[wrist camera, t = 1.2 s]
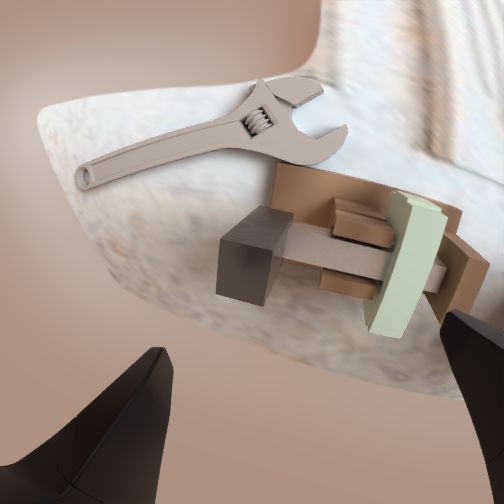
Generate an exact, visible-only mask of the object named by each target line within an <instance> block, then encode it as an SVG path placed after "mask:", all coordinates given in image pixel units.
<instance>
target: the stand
mask: <svg viewBox="0 0 504 504" xmlns="http://www.w3.org/2000/svg"><path fill="white" fill-rule="evenodd" d="M396 190H397V191H401V192H404V193H408V194H411V195H414V196H417V197H421V198H424V199H426V200H428V201H430V202H432V203H433V204H435V205H437V206H438V207H440V208H442V210H441V213H442V214H444V215H445V216H447V217H448V220H447V223H446V227H445V230H444V233H443V236H442V240H441V243H440V246H439V249H438V252H437V255H436V256H438V257H439V258H440V259H441V261H442V262H443V263H444V264H445V265H446V266H447V270H446V273H445V275H444V278H443V280H442V283H441V285H440V288H439V290H438V292H437V293H433V292H428V291H424V290H423V291H422V293H423V294H425V296H426V298H427V299H428V301H429V303H430V305H431V307H432V309H433V311H434V313H435V315H436V317H437V319H438V321H439V323H440V324H441V325H442V322H443V320H444V317H445V314H446V313H447V312H448V311H451V310H455V309H457V310H460V311H462V312H464V313H466V314H468V313H469V311H470V309H471V307H472V305H473V303H474V301H475V299H476V297H477V295H478V292H479V290H480V288H481V285H482V283H483V281H484V278H485V276H486V273H487V271H488V268H489V266H490V263H489V262H488V261H486V260H485V259H484V258H483V257H482V256H481V255H480V254H479V253H477V252H476V251H475V250H474V249H473V248H472V247H471V246H469V245H468V244H467V243H466V242H465V241H463V240H462V239H461V238H460V237H458V236H457V235H456V232H457V229H458V225H459V222H460V218H461V215H462V211H461V210H459V209H458V208H456V207H453V206H450V205H447V204H444V203H442V202H439V201H436V200H433V199H430V198H426V197H423V196H420V195H417V194H414V193H410V192H407V191H404V190H400V189H397V188H393V187H390V186H386V185H383V184H379V183H375V182H371V181H368V180H364V179H360V178H356V177H351V176H347V175H343V174H339V173H334V172H330V171H325V170H320V169H316V168H311V167H306V166H300V165H295V164H290V163H284V162H278V163H277V169H276V176H275V182H274V189H273V195H272V202H271V208H273V209H278V210H283V211H287V212H292V213H294V217H293V221H296V222H301V223H305V224H310V225H314V226H319V227H323V228H328V229H332V230H333V235H337V236H342V237H346V238H350V239H354V240H358V241H362V242H367V243H371V244H375V245H379V246H383V247H387V248H390V247H391V244H392V241H393V237H394V234H395V233H394V231H393V230H392V229H391V227H390V226H389V225H388V223H387V222H386V221H387V220H386V218H385V216H386V212H387V208H388V204H389V200H390V196H391V191H394V192H396ZM283 261H284V262H288V263H293V264H297V265H301V266H306V267H310V268H314V269H319V270H321V271H320V272H321V274H320V283H319V289H324V290H328V291H332V292H337V293H341V294H346V295H350V296H355V297H359V298H364V299H368V300H373V297H374V295H375V292H376V289H377V285H376V282H375V279H372V278H368V277H364V276H360V275H355V274H351V273H347V272H342V271H338V270H334V269H329V268H325V267H321V266H316V265H312V264H308V263H303V262H299V261H295V260H291V259H286V258H284V260H283Z"/></svg>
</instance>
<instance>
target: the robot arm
mask: <svg viewBox="0 0 504 504" xmlns="http://www.w3.org/2000/svg"><path fill="white" fill-rule="evenodd" d="M440 338H441V341H442V344H443V346H444V349H445V352H446V355H447V357H448V360H449V363H450V366H451V369H452V372H453V374H454V377H455V379H456V381H457V384H458V386H459V388H460V391H461V393H462V396H463V398H464V401H465V403H466V406H467V408H468V411H469V414H470V416H471V419H472V422H473V425H474V427H475V430H476V433H477V436H478V439H479V442H480V446H481V449H482V453H483V456H484V460H485V463H486V468H487V472H488V476H489V480H490V485H491V490H492V495H493V500H494V504H504V332H503V331H501V330H499V329H497V328H495V327H493V326H491V325H489V324H487V323H485V322H483V321H481V320H479V319H477V318H474V317H472V316H470V315H468V314H466V313H464V312H462V311H460V310H457V309H455V310H451V311H448V312H447V313H446V314H445V317H444V320H443V322H442V325H441V328H440ZM172 382H173V366H172V363H171V361H170V358H169V356H168V353H167V351H166V349H165V348H164V347H152V348H150V349H149V350H148V351H147V352H146V353H144V354H143V355H142V356H141V357H140V358H139V359H138V360H137V361H136V362H135V363H134V364H132V365H131V366H130V367H129V368H128V369H127V370H126V371H125V372H124V373H123V374H122V375H120V377H118V378H117V379H116V380H115V381H114V382H113V383H112V384H111V385H110V386H108V387H107V388H106V389H105V390H104V391H103V392H102V393H101V394H100V395H99V396H97V397H96V398H95V399H94V400H93V401H92V402H91V403H90V404H89V405H88V406H87V407H85V408H84V409H83V410H82V411H81V412H80V413H79V414H78V415H77V416H76V417H77V418H76V417H74V419H72V420H71V421H70V422H69V423H68V424H67V425H65V426H64V427H63V428H62V429H61V430H60V431H58V433H56V434H55V435H54V436H52V437H51V438H50V439H48V440H47V441H46V442H45V443H43V444H42V445H40V446H39V447H38V448H36V449H35V450H33V451H32V452H31V453H29V454H28V455H26V456H25V457H24V458H22V459H21V460H19V461H17V462H16V463H13V464H10V465H6V466H0V504H155V499H156V492H157V485H158V479H159V473H160V466H161V461H162V455H163V449H164V444H165V438H166V433H167V428H168V423H169V416H170V407H171V394H172V393H171V392H172Z"/></svg>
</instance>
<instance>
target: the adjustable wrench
mask: <svg viewBox="0 0 504 504" xmlns="http://www.w3.org/2000/svg"><path fill="white" fill-rule="evenodd" d="M249 90H250V92H251V95H250V96H249V97H248V98H247V99H246V100H245V101H244V102H243V103H242V104H241V105H240V106H239V107H238V108H237V109H236V110H234V111H233V112H232V113H230V114H228V115H226V116H224V117H222V118H220V119H217V120H214V121H210V122H206V123H202V124H198V125H194V126H191V127H187V128H183V129H180V130H176V131H173V132H169V133H166V134H163V135H160V136H157V137H153V138H150V139H147V140H144V141H141V142H138V143H136V144H133V145H130V146H127V147H124V148H122V149H119V150H116V151H114V152H111V153H109V154H106V155H104V156H101V157H99V158H96V159H94V160H92V161H89V162H87V163H85V164H82V165H80V166H79V167H78V168H77V170H76V175H75V179H76V183H77V185H78V187H79V188H80V189H81V190H87V189H91V188H94V187H97V186H99V185H102V184H105V183H108V182H110V181H113V180H116V179H119V178H122V177H125V176H128V175H131V174H134V173H137V172H140V171H143V170H146V169H149V168H153V167H156V166H159V165H163V164H166V163H170V162H173V161H177V160H180V159H184V158H188V157H191V156H195V155H199V154H203V153H207V152H211V151H216V150H220V149H224V148H242V149H247V150H252V151H257V152H261V153H265V154H268V155H271V156H274V157H277V158H279V159H282V160H285V161H288V162H290V163H293V164H299V165H312V164H316V163H319V162H322V161H324V160H326V159H328V158H330V157H331V156H332V155H334V154H335V153H336V152H337V151H338V150H339V148H340V147H341V146H342V145H343V144H344V141H345V139H346V136H347V134H348V128H347V126H346V124H345V125H343V126H342V127H340V128H338V129H336V130H334V131H332V132H330V133H329V134H327V135H325V136H323V137H321V138H319V139H318V140H315V139H313V138H311V137H310V136H308V135H306V134H304V133H302V132H300V131H298V129H297V128H296V126H295V124H294V123H293V121H292V107H293V106H295V107H296V108H298V107H299V106H301V105H303V104H305V103H306V102H308V101H310V100H312V99H314V98H315V97H317V96H319V95H321V94H323V93H324V91H323V88H322V86H321V85H320V83H317V82H315V81H312V80H308V79H304V78H297V77H286V78H279V79H275V80H271V81H267V82H265V81H264V80H263V79H262V78H260V79H259V80H258V81H257V83H256V84H255V85H252V86H251V87H250V88H249ZM263 113H265V114H263ZM266 117H267V118H268V119H266ZM245 121H246V122H245ZM269 121H270V122H271V124H269ZM243 122H245V124H246V125H249V126H248V129H249V130H251V134H257V135H256V136H254V137H252V135H251V134H250V132H249V131H248V129H247V128H246V126H245V125H244V123H243ZM86 169H87V170H88V172H89V177H90V179H89V184H88V183H87V181H86V178H85V172H86Z"/></svg>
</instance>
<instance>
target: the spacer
mask: <svg viewBox="0 0 504 504" xmlns="http://www.w3.org/2000/svg"><path fill="white" fill-rule="evenodd" d="M441 210H442V208H440V207H438V206H437V205H435V204H433V203H432V202H430V201H428V200H426V199H424V198H421V197H417V196H414V195H411V194H408V193H404V192H401V191H397V190H396V192H394V191H391V196H390V200H389V204H388V208H387V212H386V216H385V218H386V220H387V221H386V222H387V223H388V225H389V226H390V227H391V229H392V230H393V231H394V233H395V234H394V237H393V241H392V244H393V245H395V247H394V250H393V254H392V257H391V260H390V263H389V266H388V269H387V272H386V275H385V277H384V280H383V281H381V280H377V279H375V282H376V285H377V289H376V292H375V295H374V297H373V300H368V299H364V300H363V307H364V314H365V321H366V325H368V332H369V333H372V334H377V335H382V336H388V337H393V338H399V339H401V337H402V335H403V333H404V331H405V329H406V327H407V325H408V323H409V321H410V318H411V316H412V314H413V312H414V310H415V308H416V305H417V303H418V301H419V298H420V296H421V294H422V291H423V289H424V287H425V284H426V282H427V279H428V276H429V274H430V271H431V269H432V266H433V263H434V260H435V257H436V255H437V252H438V249H439V246H440V243H441V240H442V236H443V233H444V230H445V227H446V223H447V220H448V217H447V216H445V215H444V214H442V213H441Z"/></svg>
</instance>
